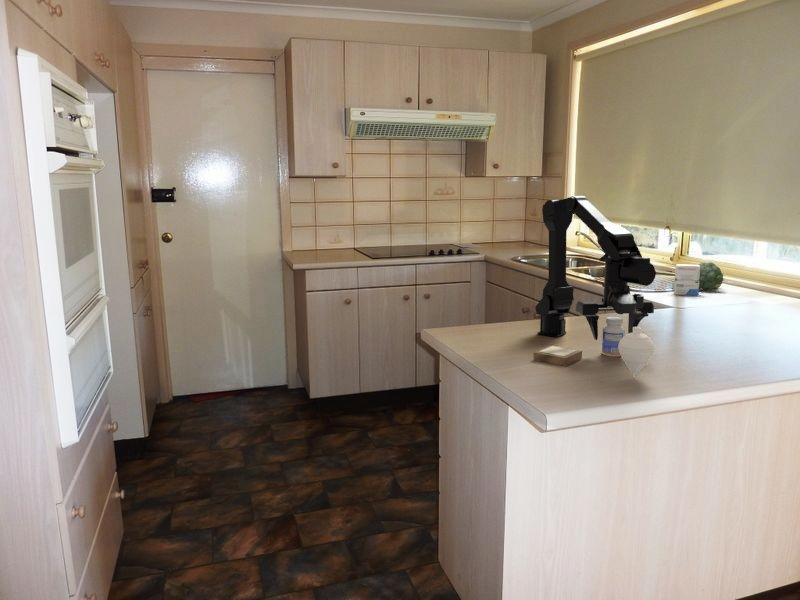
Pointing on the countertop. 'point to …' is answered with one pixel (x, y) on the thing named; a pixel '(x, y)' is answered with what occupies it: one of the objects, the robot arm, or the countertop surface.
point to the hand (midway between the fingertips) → (613, 339)
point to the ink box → (687, 279)
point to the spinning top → (635, 350)
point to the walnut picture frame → (557, 355)
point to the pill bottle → (612, 336)
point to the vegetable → (710, 276)
